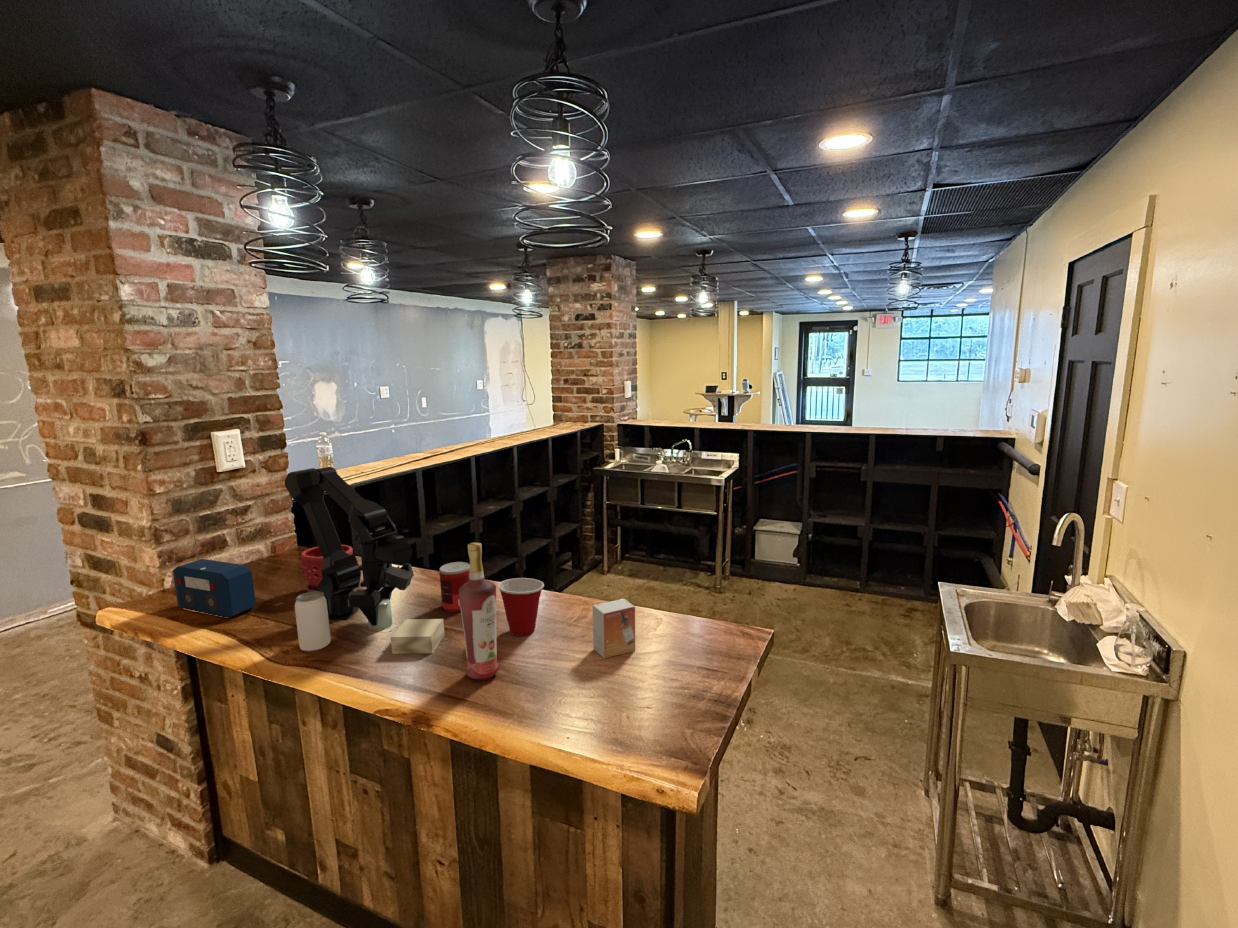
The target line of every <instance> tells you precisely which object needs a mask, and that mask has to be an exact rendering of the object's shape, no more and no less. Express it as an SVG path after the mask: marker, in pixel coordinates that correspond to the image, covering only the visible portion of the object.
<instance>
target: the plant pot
mask: <svg viewBox="0 0 1238 928" xmlns="http://www.w3.org/2000/svg"><path fill="white" fill-rule="evenodd" d="M341 545H342V548H343V550H344V551H345V552H346V553H348V554H349V555H351V554H354V551H353V547H352V546H350V545H346V544H341ZM300 558H301V567H302V571H303V575H304V577H305V580H306V582H307V583H308V584H307V586H306V588H305V589H306V591H307V593H308V592H317V589H316V587H317V586H318V585H319V583H320V582H321V580H322V579H323V577H322V573H321V568H322V564H323V556H322V553H321V551H320V548H319V546H315V547H311V548H308V549H305V550H303V551H302V552H301V557H300Z"/></svg>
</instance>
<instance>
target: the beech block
mask: <svg viewBox="0 0 1238 928" xmlns="http://www.w3.org/2000/svg"><path fill="white" fill-rule="evenodd" d="M444 623H445V622H444V618H422V619H421V618H420V619H419V618H417V619H416V618H415V619H413V618H412V619H411V618H410V619H409V618H407V619H404V620H403V622H402V623H401V624H400V625H399V627H398V628H396V630H395V631H394V632H393V634H392V635H391V636H390V645H391V654H392V655H395V654H397V655H398V654H409V655H412V654H433V653H434V651H435V650H436V649H437V647H438V646H439V644H440V642H441V641H442V639H443V638H444V636H445V625H444Z"/></svg>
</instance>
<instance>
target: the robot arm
mask: <svg viewBox="0 0 1238 928" xmlns="http://www.w3.org/2000/svg"><path fill="white" fill-rule="evenodd" d="M284 487H285V488H286V490H287V492H288V493H289V496H290V497H291V499H292V500H293V501H295V502H296V503H298V504H299V505H300V506H302V508H303V510H304V512H305V515H306V517H307V518H306V519H307V521H308V522H309V525H310V528H311V530H312V534H313V535H314V538H315V541H316V543H317V547H319V548H320V551H321V553H322V556H323V564H322V568H321V573H322V577H323V579H322V580H321V582H320V583H319V585H318V586H317V587H316V589H317V592H322V593H323V594H324V595H323V596H324V597H325V598H326V602H327V610H328V619H329V620H345V619H346V620H347V619H350V618H351V617H352V615H354V614H355V613H356V612H357V611H358V610H359V611H361V612H362V614H363V615H364V616H365V619H367V622H368V621H369V622H370V623H371V625H372V626H376V625H377V620H378V605H379V604H380V603H381V602H382V601H383V599H380V598H386V599H389V600H390V601H391V598H392V593H393V591H394V590H395V589H397V590H399V591H405V590H406V589H407V588H408V587H409V586H410V585H411V582H412V578H413V577H415V574H414V570H413V567H412V564H411V563H409V562H410V560H411V559H412V555H413V548H412V546H411V544H410V543H409V542H408V541H405V536H403V535H398V534H399V532H398V530H397V529H398V528H397V526H396V524H394V522H393V520H392V519H391V518H390V516H389V514H388V512H387V510H386V509H385V508H384V507H383V506H381V505H380V504H378V503H377V502H375V501H372V500H368V499H366V498H364V497H362V495H360V494H359V493H358V492H357V491H356V490H355V489H354V488H353V487H351V485H350V484H349V483H347V481H346V480H344V479H343V478H342V477H341V476H340V475H339V474H338V472H337V470H336V469H335V467H331V466H326V467H320V468H314V467H311V468H307V469H301V470H300V469H299V470H295V471H290V472H289V473H288V474H287V475H286V477H285V479H284ZM325 493H326V494H327V495H328V496H329V497H330V498H331V499H332V500H333V501H334V502H335V503H336V504H337V505H338V506H340V508H341V509H343V511H344V512H345V513H346V514H347V519H348V523H349V525H350V526H351V528H353V530H354V532H356V533H357V534H356V535H355V536H354V537H353V541H356V542H359V549H360V559H361V564H360V565H359V563H358V560H357V556H356V555H355V554H354V553H353V554H351V555H349V554H348V553H346V552H345V551H344V550H343V548H342V545H343V544H342V543H341V541H340V538H339V535H338V533H337V530H336V528H335V526H334V523H333V520H332V518H331V515H330V512H329V510H328V508H327V505H326V503H325V500H324V496H325ZM393 565H395V566H393ZM400 566H401V567H400ZM361 577H362V579H363V580H361ZM358 588H359V589H358ZM360 588H362V589H360ZM363 588H365V589H363ZM355 589H356V590H355Z"/></svg>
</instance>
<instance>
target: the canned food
mask: <svg viewBox="0 0 1238 928" xmlns="http://www.w3.org/2000/svg"><path fill="white" fill-rule="evenodd" d="M469 575H470V563H469V562H464V561H455V562H449V563H445V564H444V565H442V566H440V567H439V582H440V583H439V584H440V595H441V607H442V609H443V610H444V611H445V612H449V613H458V612H461V607H460V598H459V588H460V587H461V586H463V585H464V584H465V583H467V582H469Z"/></svg>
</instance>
